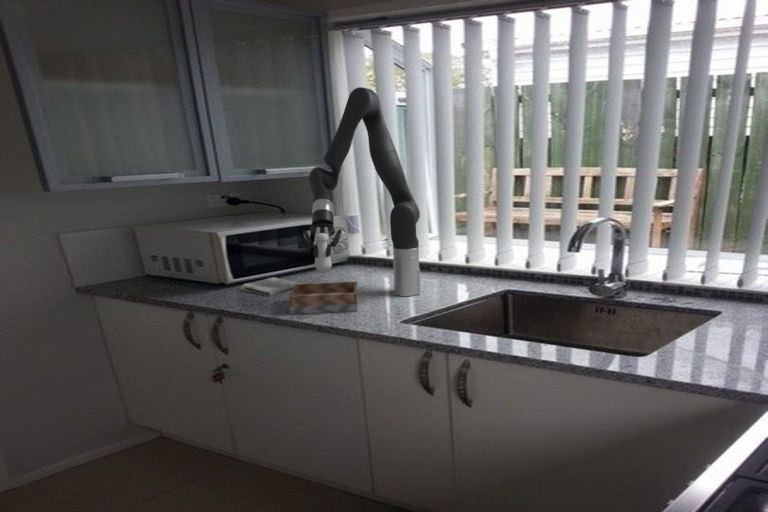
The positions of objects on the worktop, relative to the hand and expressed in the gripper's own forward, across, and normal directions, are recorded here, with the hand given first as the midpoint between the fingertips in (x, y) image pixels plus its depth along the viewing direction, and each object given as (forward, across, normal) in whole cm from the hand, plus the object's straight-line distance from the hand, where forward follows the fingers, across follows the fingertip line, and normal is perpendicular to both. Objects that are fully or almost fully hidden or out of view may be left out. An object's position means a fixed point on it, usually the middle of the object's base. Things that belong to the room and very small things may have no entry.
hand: (322, 256), depth 174 cm
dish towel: (-7, -23, +34) cm, 41 cm away
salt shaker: (+3, 0, +6) cm, 6 cm away
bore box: (+11, 0, +14) cm, 18 cm away
